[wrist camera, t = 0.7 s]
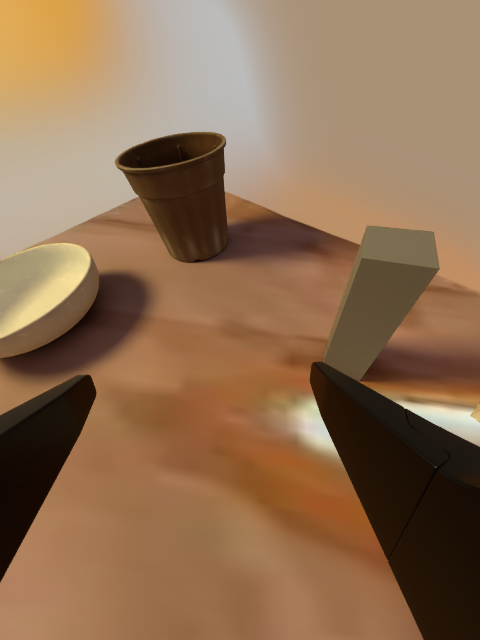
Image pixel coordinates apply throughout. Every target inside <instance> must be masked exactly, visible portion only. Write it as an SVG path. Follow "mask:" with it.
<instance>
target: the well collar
mask: <svg viewBox="0 0 480 640" xmlns="http://www.w3.org/2000/svg"><path fill="white" fill-rule="evenodd" d="M470 416H472V417H473V418H475V419H476V420H477V421H479V422H480V403H479V404H478V406H477V407H476V408H475V410H474V411H473V412H472V414H471V415H470Z"/></svg>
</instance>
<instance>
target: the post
mask: <svg viewBox="0 0 480 640" xmlns="http://www.w3.org/2000/svg"><path fill="white" fill-rule="evenodd" d="M439 269H440V268H439V262H438V256H437V249H436V243H435V236H434V232H430V231H420V230H409V229H399V228H388V227H378V226H367V227H366V230H365V233H364V236H363V239H362V242H361V245H360V248H359V251H358V254H357V257H356V259H355V262H354V265H353V268H352V271H351V274H350V277H349V280H348V283H347V286H346V289H345V292H344V294H343V297H342V300H341V303H340V306H339V309H338V312H337V315H336V318H335V321H334V324H333V327H332V329H331V332H330V335H329V338H328V341H327V345H326V350H325V354H324V358H323V362H324V363H326V364H328V365H329V366H331V367H333V368H335V369H336V370H338V371H340V372H342V373H344V374H345V375H347V376H349V377H351V378H352V379H354V380H357V381H360V380H361V378H362V377H363V375H364V374H365V373H366V371H367V370H368V368H369V367H370V366H371V364H372V363H373V361H374V360H375V359H376V357H377V356H378V354H379V353H380V352H381V350H382V349H383V347H384V346H385V345H386V343H387V342H388V340H389V339H390V338H391V336H392V335H393V333H394V332H395V331H396V329H397V328H398V326H399V325H400V324H401V322H402V321H403V319H404V318H405V317H406V315H407V314H408V312H409V311H410V310H411V308H412V307H413V305H414V304H415V303H416V301H417V300H418V298H419V297H420V295H421V294H422V293H423V291H424V290H425V288H426V287H427V286H428V284H429V283H430V281H431V280H432V279H433V277H434V276H435V274H436V273H437V272H438V270H439Z"/></svg>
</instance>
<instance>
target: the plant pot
mask: <svg viewBox="0 0 480 640" xmlns="http://www.w3.org/2000/svg"><path fill="white" fill-rule="evenodd" d="M225 145H226V138H225V137H224V136H223V135H221V134H218V133H212V132H191V133H182V134H174V135H170V136H165V137H161V138H157V139H153V140H150V141H147V142H144V143H142V144H139V145H136V146H134V147H132V148H130V149H128V150H126V151H124V152H123V153H122V154H120V155H119V156H118V157H117V158H116V160H115V164H116V166H117V168H118V169H120V170H122V171H123V173H124V174H125V176H126V178H127V179H128V181H129V183H130V185H131V186H132V188H133V190H134V192H135V193H136V194H137V195H139V197H140V199H141V201H142V203H143V204H144V206H145V208H146V210H147V212H148V214H149V216H150V217H151V219H152V221H153V223H154V225H155V227H156V228H157V230H158V232H159V234H160V236H161V238H162V240H163V242H164V243H165V245H166V247H167V249H168V251H169V253H170V255H171V256H172V257H174V258H175V259H177V260H180V261H183V262H194V261H195V260H198V259H200V260H207V259H209V258H211V257H214V256H215V255H217V254H219V253H220V252H221V251H222V250H223V249H224V248H225V247H226V245H227V243H228V229H227V216H226V204H225V192H224V178H223V175H224V173H225V164H224V147H225Z"/></svg>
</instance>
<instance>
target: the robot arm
mask: <svg viewBox="0 0 480 640" xmlns="http://www.w3.org/2000/svg"><path fill="white" fill-rule="evenodd" d="M310 384H311V387H312V390H313V393H314V396H315V399H316V402H317V405H318V408H319V411H320V414H321V417H322V419H323V421H324V423H325V426H326V428H327V430H328V432H329V434H330V437H331V439H332V441H333V443H334V445H335V447H336V450H337V452H338V454H339V456H340V458H341V460H342V463H343V465H344V467H345V469H346V471H347V473H348V476H349V478H350V480H351V482H352V484H353V486H354V489H355V491H356V493H357V495H358V497H359V499H360V502H361V504H362V506H363V508H364V510H365V513H366V515H367V517H368V519H369V521H370V523H371V526H372V528H373V530H374V532H375V534H376V536H377V539H378V541H379V543H380V545H381V547H382V549H383V552H384V554H385V556H386V558H387V559H388V563H389V565H390V567H391V569H392V572H393V574H394V576H395V578H396V580H397V582H398V585H399V587H400V589H401V591H402V593H403V595H404V598H405V600H406V602H407V604H408V606H409V608H410V611H411V613H412V615H413V617H414V619H415V621H416V624H417V626H418V628H419V630H420V632H421V635H422V637H423V639H424V640H480V447H479V446H477V445H475V444H473V443H471V442H469V441H467V440H465V439H463V438H461V437H459V436H457V435H455V434H453V433H451V432H449V431H447V430H445V429H443V428H441V427H439V426H437V425H435V424H433V423H431V422H429V421H428V420H426V419H424V418H422V417H420V416H418V415H417V414H415V413H413V412H411V411H410V410H408V409H404V407H402V406H401V405H399V404H397V403H395V402H393V401H392V400H390V399H388V398H386V397H385V396H383V395H381V394H379V393H377V392H376V391H374V390H372V389H370V388H368V387H367V386H365V385H363V384H361V383H360V382H358V381H356V380H354V379H352V378H351V377H349V376H347V375H345V374H344V373H342V372H340V371H338V370H336V369H335V368H333V367H331V366H329V365H328V364H326V363H324V362H313V363H312V366H311V373H310ZM95 397H96V389H95V386H94V383H93V380H92V378H91V376H90V375H77V376H75V377H73V378H71V379H69V380H67V381H65V382H64V383H62V384H60V385H58V386H56V387H54V388H52V389H50V390H48V391H46V392H44V393H42V394H40V395H39V396H37V397H35V398H33V399H31V400H29V401H27V402H25V403H23V404H21V405H19V406H17V407H15V408H13V409H12V410H10V411H8V412H6V413H4V414H2V415H0V582H1V580H2V578H3V577H4V575H5V573H6V571H7V569H8V567H9V565H10V564H11V562H12V560H13V558H14V556H15V554H16V552H17V551H18V549H19V547H20V545H21V543H22V541H23V539H24V537H25V536H26V534H27V532H28V530H29V528H30V526H31V524H32V523H33V521H34V519H35V517H36V515H37V513H38V511H39V510H40V508H41V506H42V504H43V502H44V500H45V498H46V497H47V495H48V493H49V491H50V489H51V487H52V485H53V484H54V482H55V480H56V478H57V476H58V474H59V472H60V471H61V469H62V467H63V465H64V463H65V461H66V459H67V458H68V456H69V454H70V452H71V450H72V448H73V446H74V445H75V443H76V441H77V439H78V437H79V435H80V433H81V431H82V429H83V426H84V424H85V421H86V419H87V417H88V414H89V412H90V409H91V407H92V405H93V402H94V400H95Z"/></svg>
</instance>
